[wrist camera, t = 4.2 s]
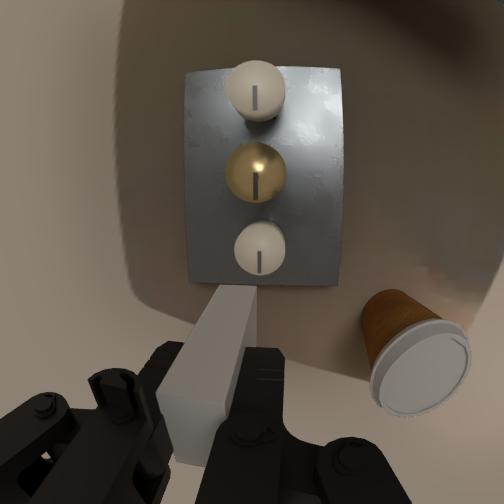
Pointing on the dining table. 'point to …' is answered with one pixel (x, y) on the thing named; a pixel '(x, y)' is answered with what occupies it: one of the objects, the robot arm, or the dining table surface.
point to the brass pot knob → (255, 172)
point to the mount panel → (291, 195)
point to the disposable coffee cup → (412, 354)
